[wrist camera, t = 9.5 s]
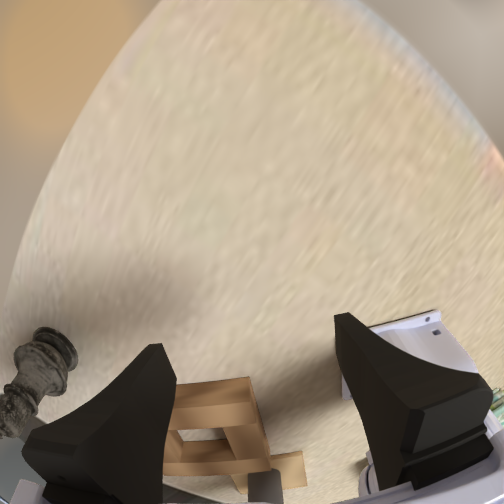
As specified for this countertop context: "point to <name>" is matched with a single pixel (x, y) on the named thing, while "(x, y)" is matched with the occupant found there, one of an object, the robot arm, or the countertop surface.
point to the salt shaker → (36, 378)
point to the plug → (265, 487)
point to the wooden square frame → (212, 416)
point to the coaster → (288, 467)
